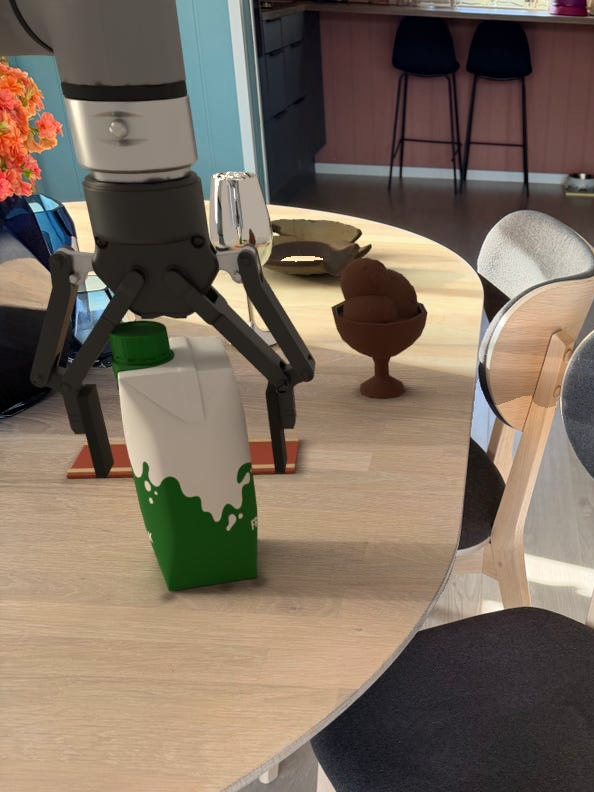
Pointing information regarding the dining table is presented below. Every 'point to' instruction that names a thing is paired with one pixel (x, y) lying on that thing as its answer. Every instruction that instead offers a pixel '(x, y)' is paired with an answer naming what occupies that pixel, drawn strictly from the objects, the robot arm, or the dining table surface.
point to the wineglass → (240, 223)
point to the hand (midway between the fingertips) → (194, 468)
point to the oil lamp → (314, 246)
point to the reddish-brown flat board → (122, 468)
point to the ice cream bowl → (378, 320)
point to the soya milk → (187, 453)
